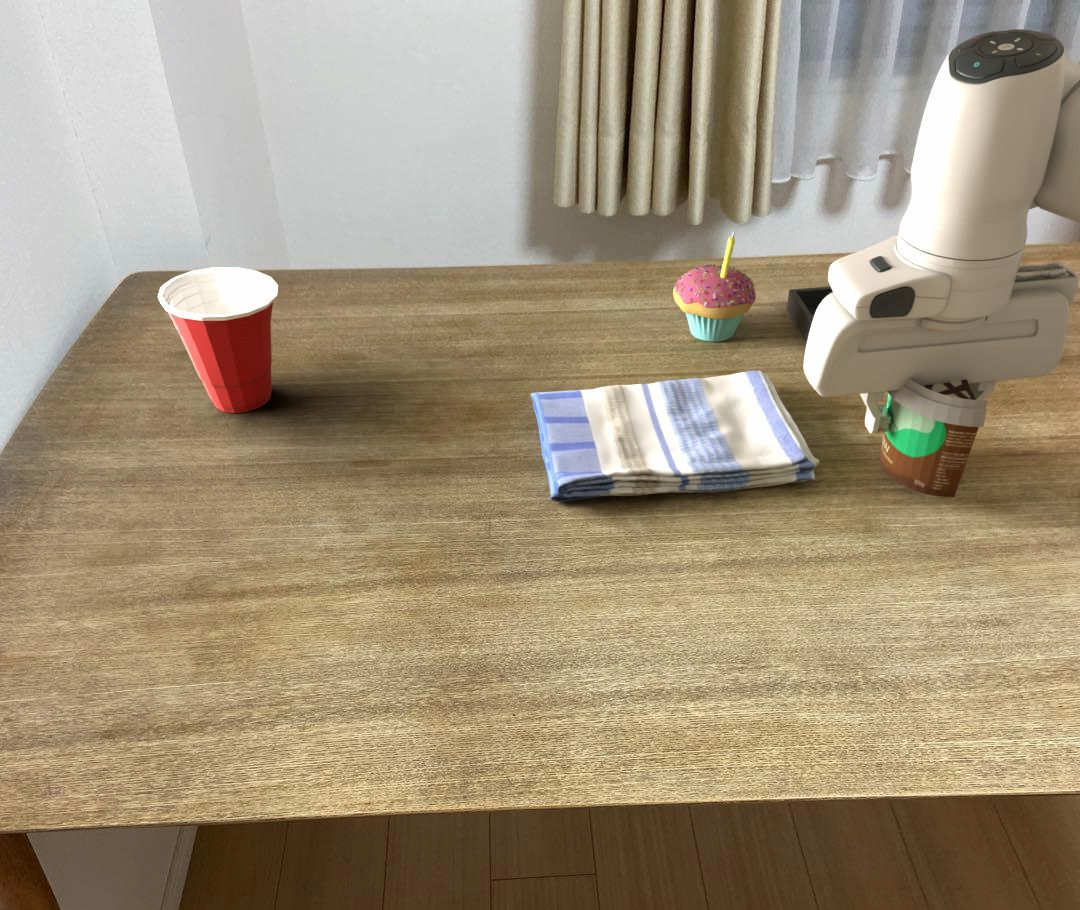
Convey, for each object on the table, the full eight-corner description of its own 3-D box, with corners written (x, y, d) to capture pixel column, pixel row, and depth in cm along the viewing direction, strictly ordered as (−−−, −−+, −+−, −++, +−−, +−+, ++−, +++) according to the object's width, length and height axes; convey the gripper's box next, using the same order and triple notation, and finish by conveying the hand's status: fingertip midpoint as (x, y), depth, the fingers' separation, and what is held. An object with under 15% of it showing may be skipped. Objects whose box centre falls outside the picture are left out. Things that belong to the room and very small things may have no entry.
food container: (852, 425, 93) (871, 327, 87) (921, 425, 93) (945, 326, 87) (883, 509, 84) (907, 405, 77) (959, 508, 83) (989, 404, 77)
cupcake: (767, 335, 109) (781, 227, 101) (707, 359, 105) (717, 249, 98) (713, 305, 114) (723, 201, 107) (654, 327, 111) (660, 221, 103)
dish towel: (820, 487, 88) (825, 461, 86) (550, 511, 87) (550, 485, 85) (765, 384, 101) (768, 359, 100) (530, 403, 100) (529, 378, 98)
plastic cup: (308, 413, 99) (285, 301, 92) (195, 437, 97) (161, 323, 89) (290, 361, 107) (267, 254, 100) (184, 382, 105) (153, 273, 97)
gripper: (1064, 243, 80) (1017, 394, 89) (809, 265, 79) (788, 415, 88) (1107, 278, 75) (1053, 434, 84) (836, 302, 74) (811, 458, 83)
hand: (916, 425), depth 86 cm, fingers closed on food container, 6 cm apart
